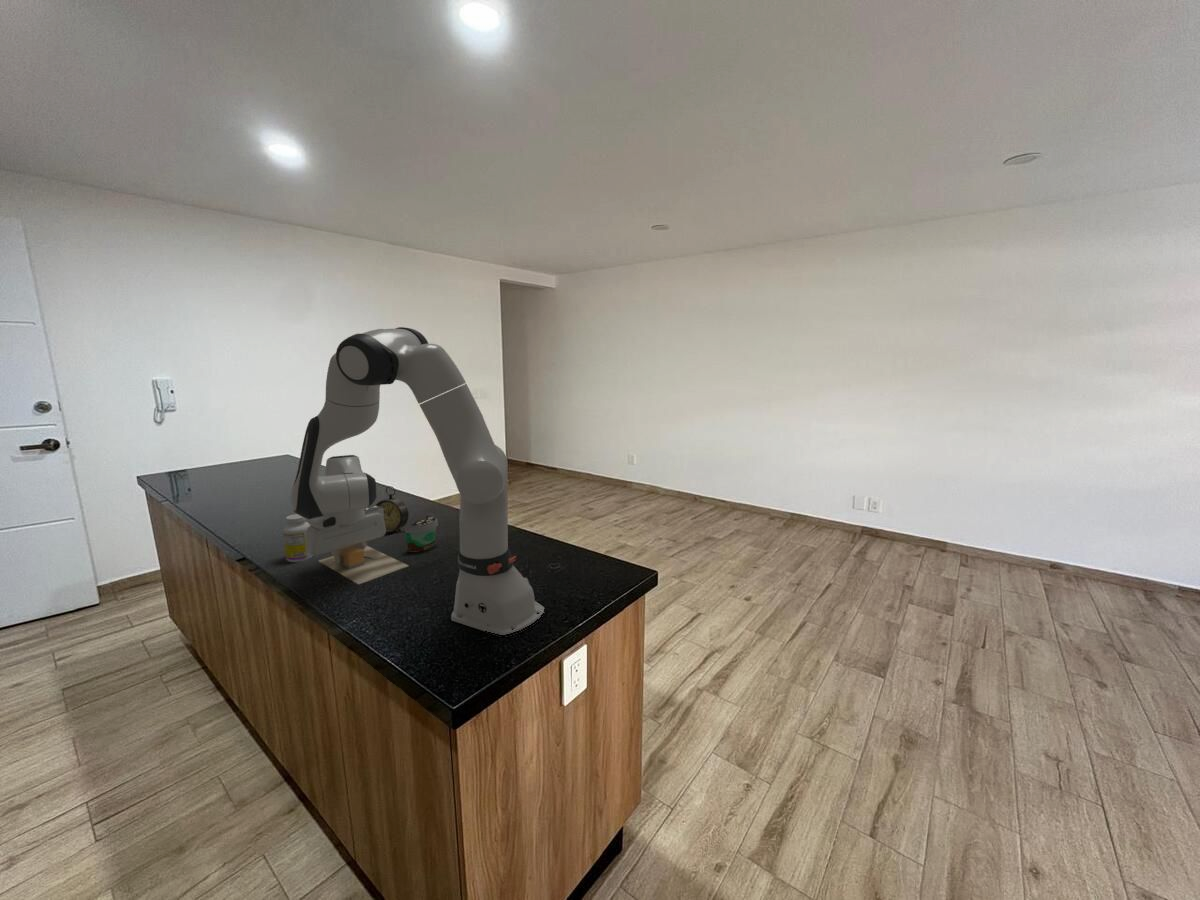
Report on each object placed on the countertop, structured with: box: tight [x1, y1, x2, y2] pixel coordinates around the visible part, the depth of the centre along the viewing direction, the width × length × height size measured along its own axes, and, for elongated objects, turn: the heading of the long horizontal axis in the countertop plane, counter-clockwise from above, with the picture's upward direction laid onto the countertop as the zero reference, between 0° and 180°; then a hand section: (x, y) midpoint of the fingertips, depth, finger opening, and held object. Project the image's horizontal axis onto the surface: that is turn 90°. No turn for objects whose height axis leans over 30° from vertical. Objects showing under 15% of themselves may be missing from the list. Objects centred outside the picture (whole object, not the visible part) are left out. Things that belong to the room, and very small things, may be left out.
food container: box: [404, 513, 439, 553], centre depth 139 cm, size 12×6×10 cm, turn 168°
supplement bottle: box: [282, 513, 314, 563], centre depth 130 cm, size 7×7×13 cm
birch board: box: [318, 545, 409, 585], centre depth 127 cm, size 22×14×2 cm, turn 55°
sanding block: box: [337, 545, 364, 569], centre depth 126 cm, size 8×4×4 cm, turn 55°
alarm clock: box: [375, 485, 409, 533], centre depth 152 cm, size 11×5×16 cm, turn 76°
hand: (349, 560), depth 126 cm, fingers closed on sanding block, 4 cm apart
